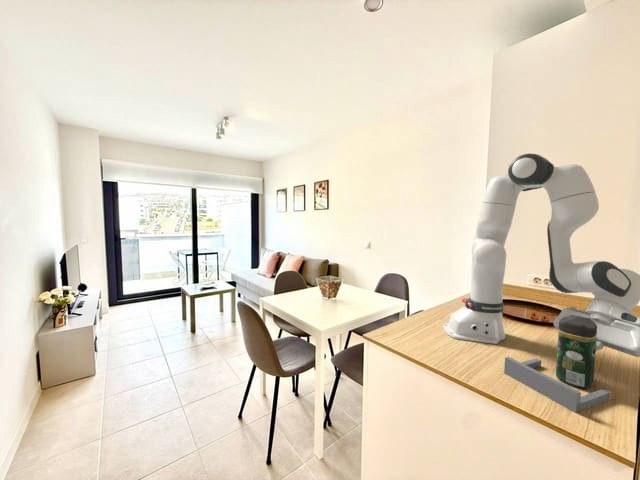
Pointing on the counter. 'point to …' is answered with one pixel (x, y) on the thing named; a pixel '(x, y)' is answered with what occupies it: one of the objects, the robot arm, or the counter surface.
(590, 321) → the coffee jar
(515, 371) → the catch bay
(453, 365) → the counter surface
